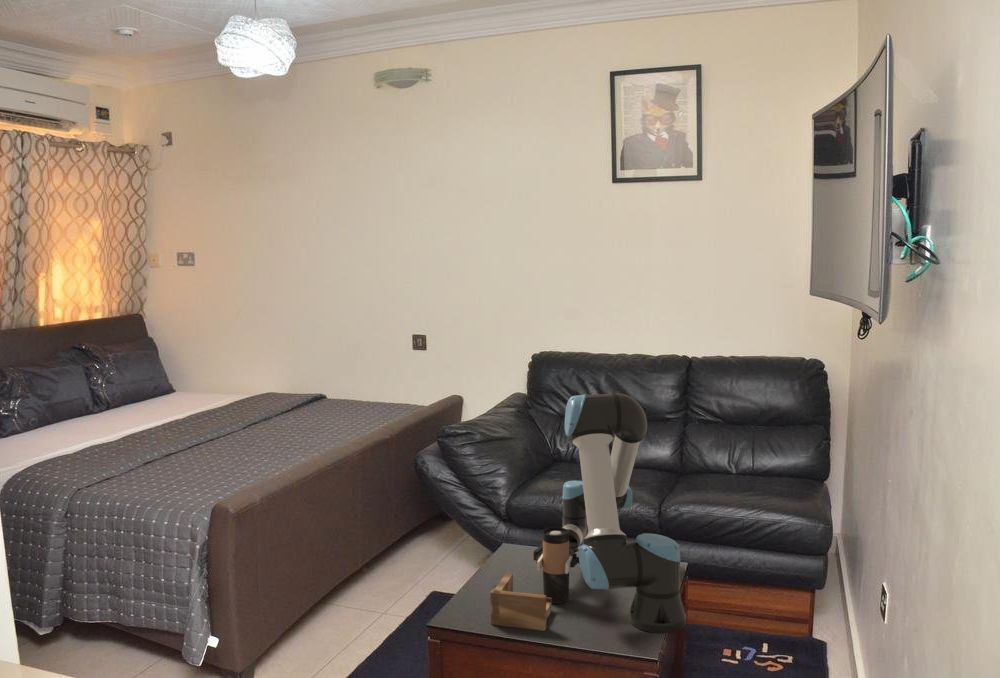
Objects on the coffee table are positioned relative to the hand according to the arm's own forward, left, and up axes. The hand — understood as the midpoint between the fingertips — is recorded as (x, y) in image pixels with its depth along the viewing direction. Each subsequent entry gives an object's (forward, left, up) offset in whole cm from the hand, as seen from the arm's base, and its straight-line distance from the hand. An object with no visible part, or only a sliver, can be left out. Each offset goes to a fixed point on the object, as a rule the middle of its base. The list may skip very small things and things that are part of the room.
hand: (552, 567), depth 236 cm
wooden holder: (0, +10, -12) cm, 15 cm away
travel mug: (+2, -4, -11) cm, 12 cm away
